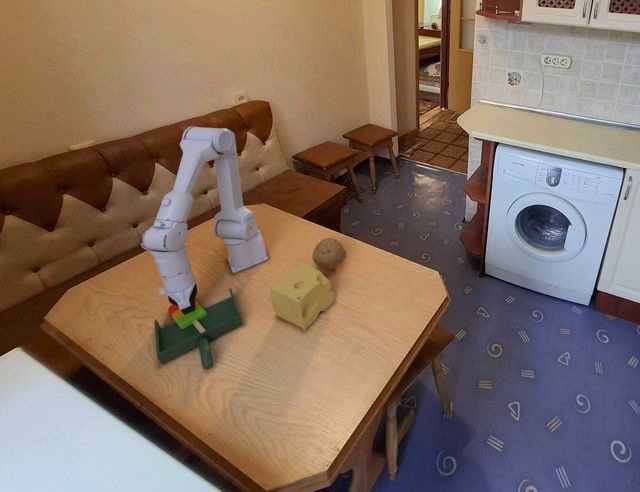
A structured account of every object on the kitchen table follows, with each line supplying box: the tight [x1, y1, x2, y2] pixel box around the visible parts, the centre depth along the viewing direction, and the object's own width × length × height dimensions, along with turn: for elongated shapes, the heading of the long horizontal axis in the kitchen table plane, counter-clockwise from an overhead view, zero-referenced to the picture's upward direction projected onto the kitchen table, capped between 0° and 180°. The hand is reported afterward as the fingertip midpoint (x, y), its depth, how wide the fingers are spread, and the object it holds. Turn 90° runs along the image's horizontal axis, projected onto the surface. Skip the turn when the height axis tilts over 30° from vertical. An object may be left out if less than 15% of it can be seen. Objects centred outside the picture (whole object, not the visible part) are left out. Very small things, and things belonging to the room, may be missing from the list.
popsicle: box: [167, 299, 207, 333], centre depth 89 cm, size 6×15×2 cm, turn 55°
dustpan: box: [154, 287, 244, 371], centre depth 84 cm, size 20×16×3 cm
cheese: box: [270, 261, 336, 331], centre depth 92 cm, size 10×11×10 cm
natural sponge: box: [312, 237, 347, 271], centre depth 106 cm, size 9×9×10 cm
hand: (189, 312), depth 90 cm, fingers closed, pressing on popsicle
